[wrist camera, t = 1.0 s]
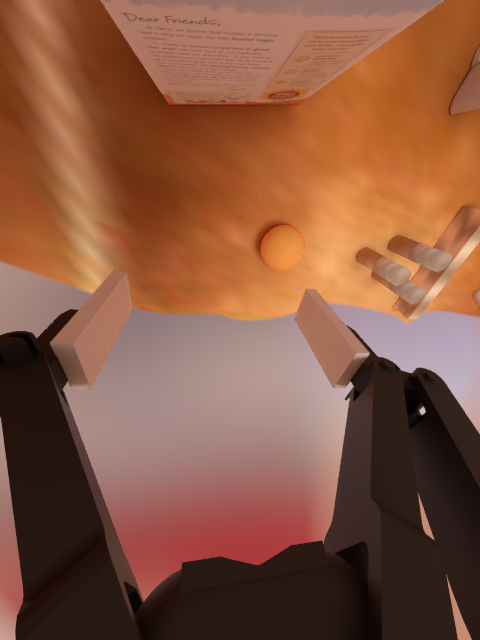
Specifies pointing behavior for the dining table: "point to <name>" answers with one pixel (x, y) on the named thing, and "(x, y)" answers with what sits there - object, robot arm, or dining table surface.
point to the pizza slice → (476, 296)
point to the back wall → (458, 243)
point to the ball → (282, 248)
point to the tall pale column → (468, 89)
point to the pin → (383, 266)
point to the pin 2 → (403, 289)
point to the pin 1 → (420, 253)
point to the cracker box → (255, 44)
